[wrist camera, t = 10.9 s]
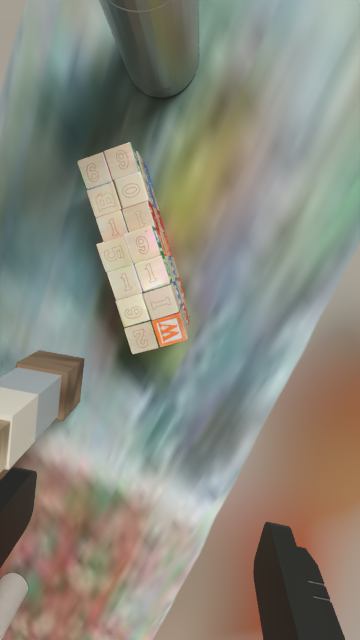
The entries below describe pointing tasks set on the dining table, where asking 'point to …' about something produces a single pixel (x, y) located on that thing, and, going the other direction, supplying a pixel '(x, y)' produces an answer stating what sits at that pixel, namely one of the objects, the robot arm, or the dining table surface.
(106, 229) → the stack of blocks
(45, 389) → the tower mid
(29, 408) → the tower top
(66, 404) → the tower base
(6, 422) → the birch block
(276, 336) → the dining table surface
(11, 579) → the white bottle
